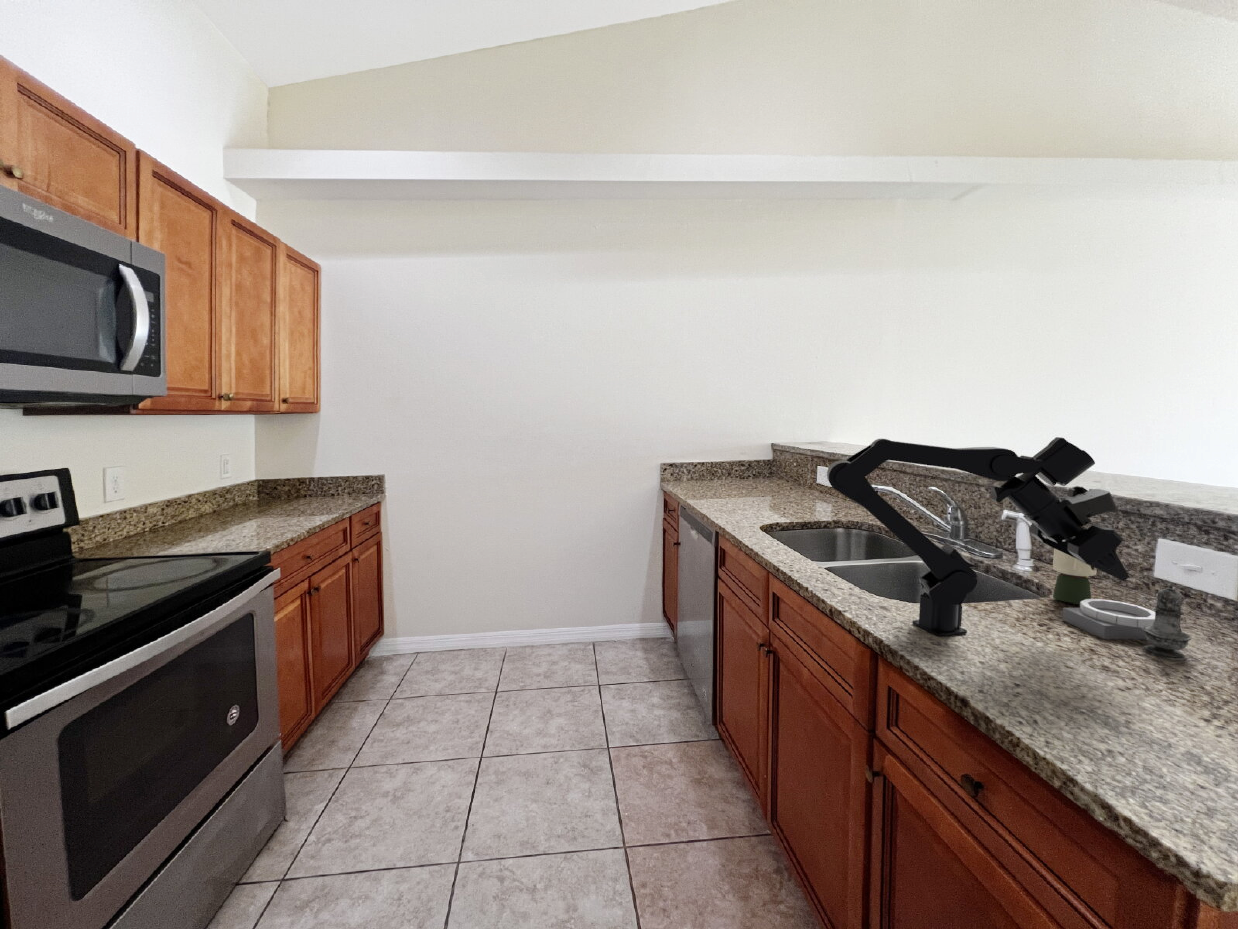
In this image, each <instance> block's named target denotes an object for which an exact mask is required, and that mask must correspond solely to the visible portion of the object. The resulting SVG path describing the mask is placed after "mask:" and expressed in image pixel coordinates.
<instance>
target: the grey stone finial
mask: <svg viewBox="0 0 1238 929" xmlns="http://www.w3.org/2000/svg"><path fill="white" fill-rule="evenodd" d="M1174 587H1175V586H1174V585H1173V584H1172V583H1169V584H1168V586H1167V587H1166V588H1162V589H1159V590H1158V592H1157V598H1156V606H1154V607H1153V611H1154V612H1155V620H1154V623H1153V624H1152V625H1151V626H1144V627H1142V630H1143V631H1144V635H1145V638H1146V639H1145V640H1146V641H1147V642H1148V643H1149V644H1148V645H1143V646H1142V648H1141V649H1142V650H1143V651H1144V650H1145V651H1144V652H1146V653H1147V654H1150V655H1153V656H1155V657H1159V658H1163V659H1167V660H1172V661H1173V660H1174V661H1185V660H1187V659H1188V657H1187V655H1185V654H1184V653H1183V652H1182V651H1180V650H1182V649H1185V648H1186V647H1187V646H1188V644H1189V641H1191V640H1192V636H1191V635H1190V634H1188V633H1186V632H1184V631H1182V627H1181V617H1182V616H1183V615H1184V613H1185V612H1183V611H1182V600H1183V595H1182V593H1181V592H1180V591H1178V590H1176V589H1174Z"/></svg>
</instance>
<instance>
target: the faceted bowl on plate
mask: <svg viewBox="0 0 1238 929" xmlns="http://www.w3.org/2000/svg"><path fill="white" fill-rule="evenodd" d="M1155 612H1156V611H1155V610H1151V609H1149V608H1146V607H1143V606H1141V605H1137V604H1132V603H1128V602H1125V601H1124V602H1123V601H1117V600H1110V599H1104V598H1103V599H1101V598H1091V599H1085V600H1083V601H1080V605H1079V607H1063V608H1062V618H1061V621H1063V622H1065V623H1067V624H1070V625H1071V626H1074V627H1076V628H1079V629H1081V630H1083V631H1085V632H1088V633H1089V634H1091V635H1094V636H1096V637H1098V638H1100V639H1102V640H1147V639H1146V638H1145V635H1144V631H1143V630H1142V627H1144V626H1151V625H1152V624H1153V623H1154V620H1155Z"/></svg>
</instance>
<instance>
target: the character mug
mask: <svg viewBox="0 0 1238 929" xmlns="http://www.w3.org/2000/svg"><path fill="white" fill-rule="evenodd" d="M1052 560H1053V561H1052V569H1053V570H1054V571H1055V572H1058V573H1059V574H1058V575H1057V578H1056V582H1055V585H1054V590H1053V594H1052V597H1053V599H1055V600H1057V601H1061V602H1066V603H1070V605H1071V604H1072V606H1073V605H1075V604H1076V605H1079V606H1080V601H1083V600H1085V599H1092V593H1091V583H1090V580H1089V577H1093V576H1096V575H1097V570H1098V569H1096V568H1094V567H1092V566H1090V565H1087V564H1085V563H1083V562H1081V561H1079V560H1078V559H1076V558H1074V557H1072V556H1070V555H1068V554H1065V553H1063V552H1061V551H1059V550H1057V549H1055V548H1053V558H1052Z"/></svg>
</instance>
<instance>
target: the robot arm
mask: <svg viewBox="0 0 1238 929" xmlns="http://www.w3.org/2000/svg"><path fill="white" fill-rule="evenodd" d="M887 461H892V462H893V461H894V462H901V463H908V464H914V465H923V466H930V467H931V466H932V467H938V468H939V467H940V468H945V469H946V468H947V469H953V470H959V471H962V472H965V473H966V472H967V473H968V474H972V475H975V476H979V477H983V478H985V479H988V480H992V481H995V482H996V481H997V482H1002V483H1000V484H999V485H990V495H989V500H991V501H993V502H996V503H1001V502H1002V501H1004V500H1005V499H1007V500H1008V501H1009V502H1010V503H1011V504H1012V505H1013V506H1015V507H1016V508H1017V509H1018V510H1019V511H1020V513H1022V517H1023V518H1024V519H1025V520H1026V521H1028V522H1030V523H1032V524H1031V525H1030V526H1029V533H1030V534H1031V535H1032V536H1033V537H1034V538H1035V539H1036V540H1037V541H1040V542H1041V543H1042V544H1044V545H1046V546H1048V547H1051V548H1053V549H1054V548H1055V549H1057V550H1059V551H1061V552H1063V553H1065V554H1068V555H1070V556H1072V557H1074V558H1076V559H1078V560H1079V561H1081V562H1083V563H1085V564H1087V565H1090V566H1092V567H1094V568H1096V569H1097V570H1098V571H1101V572H1102V573H1105V574H1108V575H1110V576H1112V577H1114V578H1116V579H1118V580H1120V581H1123V582H1125V581H1127V580H1128V579H1129V578H1130V575H1129V573H1128V572H1127V570H1126V568H1125V567H1124V566H1125V565H1123V563H1122V561H1121V559H1120V558H1119V555H1118V553H1117V549H1118V547H1119V546H1120V545H1121V544H1122V542H1123V541H1124V538H1123V537H1122V536H1121V535H1120V534H1119V533H1118V532H1117V531H1115V529H1112V528H1109V527H1107V526H1104V525H1095V524H1092V525H1091V526H1089V527H1087V528H1085V527H1084V526H1088V525H1089V524H1090V523H1091V522H1092V519H1090V518H1092V517H1095V516H1100V515H1101V514H1105V513H1107V512H1108V513H1112V512H1114V511H1117V510H1118V507H1117V505H1116V503H1115V500H1114V498H1113V496H1112V494H1111V491H1109V490H1105V489H1101V488H1094V489H1093V488H1090V489H1088V490H1087V489H1086V488H1085V487H1084V486H1080V485H1075V486H1072V487H1069V488H1068V491H1067V496H1066V497H1065V498H1062V497H1059V496H1057V494H1056V493H1055V492H1054V491H1053V490H1052V489H1050V488H1049V486H1047V485H1050V486H1051V487H1054V486H1056V485H1057V484H1058V485H1060V486H1062V487H1066V486H1067V485H1068V484H1071V482H1072V481H1074V480H1075V479H1077V478H1078V477H1079V476H1081V475H1082V474H1083V473H1084V472H1086V471H1088V470H1089V469H1090V468H1091V467H1093V466H1094V465H1095V464H1096V461H1095V460H1094V458H1093V457H1092V456H1091V455H1090V454H1089V453H1088V452H1087V451H1086V450H1084V449H1081V448H1079V447H1078V446H1077V445H1074V444H1073V443H1071V442H1070V441H1068V440H1066V438H1064V437H1055V438H1053V439H1052V440H1051V441H1049V443H1048V444H1047V445H1046V446H1045V447H1043V448H1042V449H1041V450H1040V451H1038V452H1037V453H1036V454H1034V455H1033V456H1027V455H1020V456H1019V455H1018V454H1017V453H1016V452H1015V451H1014V450H1012V449H1008V448H1004V447H1003V448H1002V447H998V446H997V447H996V446H975V447H974V446H973V447H959V448H958V447H955V448H954V447H945V446H938V445H928V444H921V443H913V442H904V441H895V440H890V439H887V438H877V439H875V440H874V441H872V443H870V444H869V445H868V446H866V447H865V448H862V449H861V450H859V451H858V452H856V453H854V454H853V455H851V456H850V457H848V458H847V459H840V460H839V459H838V460H835V461H834V462H832V463H831V464H830V465H829V467H828V468H827V470H826V471H827V472H826V478H827V481H828V483H829V484H830V486H831V487H832V489H833V490H834V491H837V492H838V493H840V494H841V495H842V496H845V497H846V498H848V499H849V500H851V501H853V502H854V503H856V504H858V505H860V506H861V507H863V508H864V509H866V511H867V512H869V513H870V514H871V515H872V516H873V517H874V518H875V519H876V520H877V521H879V522H880V523H881V524H882V525H883V526H884V527H885V528H887V529H888V531H890V532H891V533H892V534H893V535H894V536H895V537H897V538H898V539H899V540H900V541H901V542H902V543H903V544H905V546H906V547H907V548H909V549H910V550H911V551H912V552H913V553H915V554H916V556H918V558H919V559H920V560H921V561H922V562H923V564H924V565H925V566H926V568H927V569H928V571H927V572H925V573H924V574H923V575H921V576H920V577H919V578H918V581H919V584H920V588H922V590H924V592H923V594H920V595H919V612H918V614H919V615H918V617H919V618H918V619H917V620H915V619H913V620H912V622H911V623H912V624H913V625H915V626H917V627H919V628H921V629H923V630H925V631H927V632H929V633H932V634H933V635H935V636H938V637H945V636H954V635H960V634H967V633H968V631H967V629H964V628H963V627H962V616H963V603H964V601H965V599H966V597H967V595H968V594H969V593H971V592H973V590H975V589H976V587H977V584H978V575H977V573H976V572H975V570H974V569H973V567H975V565H974V563H973V562H971V561H969V560H968V559H967V558H966V556H964V555H962V554H960V553H959V551H958V550H957V549H956V548H955V547H953V545H951V544H950V543H948V542H945V543H944V545H943V546H940V545H939V544H937V543H935V542H934V541H932V540H931V539H930V538H929V537H927V536H926V535H925V534H924V533H923V532H922V531H921V530H919V529H918V528H917V527H916V526H915V525H914V524H913V523H911V522H910V521H909V520H908V519H907V518H906V517H905V516H904V515H902V514H901V513H900V512H899V511H898V510H897V509H896V508H895V507H893V506H892V505H891V504H890V503H889V502H888V501H887V500H885V499H884V498H883V496H881V495H880V494H879V493H878V492H877V490H876V489H875V488H874V487H873V485H872V484H871V483H870V481H869V480H868V479H867V478H866V477H867V476H869V475H870V474H871V473H873V472H874V471H875V470H876V469H877V468H879V467H880V466H882V465H883V464H884V463H885V462H887ZM1017 475H1018V476H1017ZM1041 480H1042V481H1041ZM1043 481H1044V482H1045V483H1046V484H1047V485H1046V484H1045V483H1044V482H1043Z"/></svg>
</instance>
